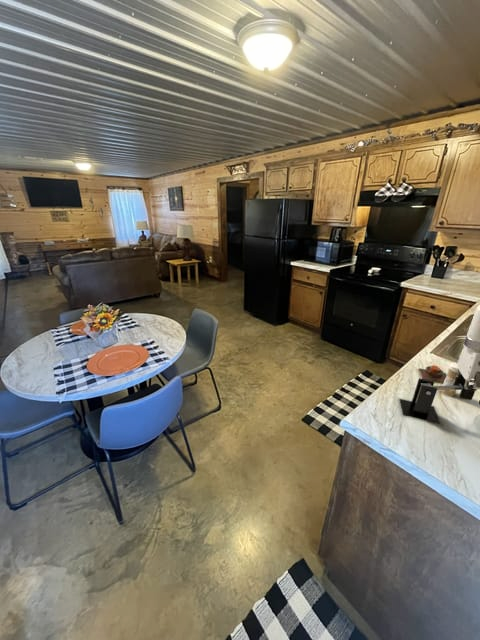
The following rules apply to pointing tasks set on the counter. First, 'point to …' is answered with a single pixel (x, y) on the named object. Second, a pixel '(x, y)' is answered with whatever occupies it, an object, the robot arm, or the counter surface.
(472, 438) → the counter surface
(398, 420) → the counter surface
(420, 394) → the bracket
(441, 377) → the button block
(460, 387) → the lever
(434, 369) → the button
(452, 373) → the sprinkles bottle
